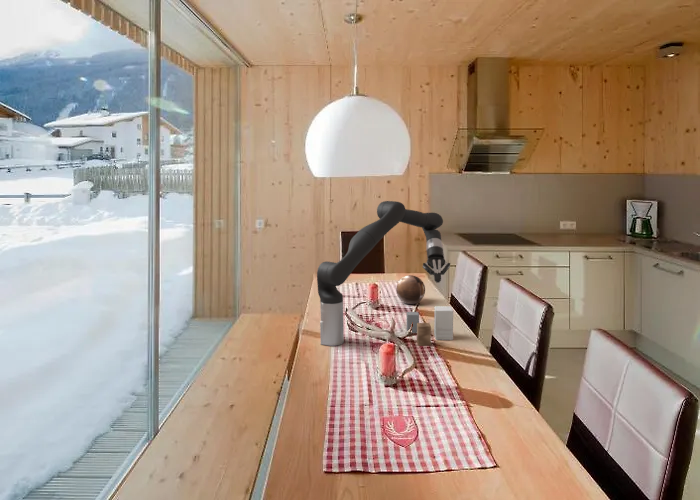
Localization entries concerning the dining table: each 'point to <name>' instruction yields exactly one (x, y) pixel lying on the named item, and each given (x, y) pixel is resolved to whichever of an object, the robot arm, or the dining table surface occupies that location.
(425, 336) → the walnut block
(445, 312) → the supplement box
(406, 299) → the wooden sphere
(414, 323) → the grey block
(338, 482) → the dining table surface
